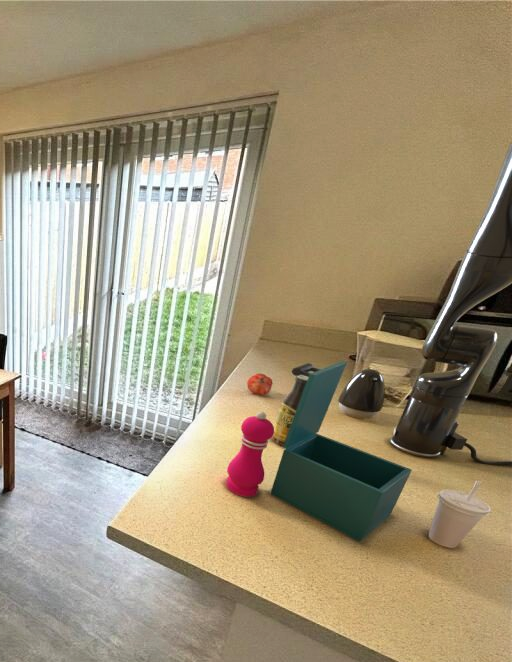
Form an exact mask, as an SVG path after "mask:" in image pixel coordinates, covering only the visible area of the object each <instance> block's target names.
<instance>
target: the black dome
mask: <svg viewBox="0 0 512 662" xmlns="http://www.w3.org/2000/svg"><path fill="white" fill-rule="evenodd" d="M385 386H386V385H385V380H384V377H383V375H382V373H381V372H380V371H379V370H377V369H372V368H366V369H365V368H364V369H362V370H360V371H359V372H357V373H356V374H355V375H354V376H353V377H351V379H350V380H349V381H348V382H347V383H346V385H345V386H344V388H343V390H342V391H341V393H340V394H339V396H338V399H337V401H338V407H339V409H340V411H341V412H342V414H344V415H346V416H349V417H351V418H353V419H362V420H363V419H364V420H366V419H370V418H373V417H375V416H376V415H377V414H378V413H380V412H381V411H382V410H383V407H384V403H385V395H386V393H385V392H386V391H385V389H386V388H385Z"/></svg>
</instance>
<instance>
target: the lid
mask: <svg viewBox="0 0 512 662" xmlns="http://www.w3.org/2000/svg"><path fill="white" fill-rule="evenodd" d="M347 363H348V362H347V361H344V360H342V361H339V362H337V363H334V364H332V365H328V366H326V367H323V368H321V369H320V368H317V367H314V365H313V364H312V363H309V362H307V363H304V364H302V365H299V366H296V367H293V368H292V370H291V374H292V375H293V376H299V375H304V376H307V377H309V378H308V380H307V383H306V386H305V388H304V391H303V394H302V396H301V399H300V402H299V404H298V407H297V410H296V413H295V415H294V418H293V421H292V423H291V426H290V429H289V431H288V434H287V437H286V439H285V442H284V445H283V446H282V448H283V449H284V450H285V449H287V448H289V447H291V446H293V445H295V444H297V443H299V442H300V441H302V440H304V439H306V438H308V437H310V436H312V435H314V434H316V433H317V434H318V433H319V431H320V429H321V427H322V425H323V422H324V419H325V417H326V414H327V412H328V409H329V407H330V405H331V402H332V400H333V398H334V395H335V392H336V391H337V387H338V386H339V383H340V380H341V379H342V376H343V373H344V371H345V368H346V366H347Z"/></svg>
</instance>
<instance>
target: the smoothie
mask: <svg viewBox="0 0 512 662" xmlns="http://www.w3.org/2000/svg"><path fill="white" fill-rule="evenodd" d="M481 483H482V481H481V480H475V483H474V484H473V487H472V488H471V490H470V492H469V493H466V492H463V491H459V490H456V489H455V490H454V489H443V490H440V491H439V493H438V494H437V496H436V497H437V500H438V501H437V504H436V507H435V511H434V515H433V518H432V521H431V524H430V529H429V532H428V538H429V539H430V541H432V542H434V543H435V544H437V545H440V546H442V547H445V548H449V549H454V548H456V547H457V546H458V545H459V544H460V543H461V542H462V541H463V540H464V538H465V537H466V536H467V535H468V534H469V533H470V532H471V530H473V528H474V527H476V525H477V524H478V523H479V522H480V521H481V520H482V518H484V517H487V516H488V515H489V514H490V512H491V507H490V505H488V503H486V502H485V501H483V500H482V499H480V498H478V497H476V496H475V494H476V493H477V490H479V487H480V486H481Z"/></svg>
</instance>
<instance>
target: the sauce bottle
mask: <svg viewBox="0 0 512 662" xmlns="http://www.w3.org/2000/svg"><path fill="white" fill-rule="evenodd" d="M308 378H309V377H307V376H304V375H299V376H296V377H295V378H294V384H293V387H292V389H291V390H290V391H289V393H288V394H287V395H286V397H284V399H283V401H282V402H281V405H280V407H279V410H278V413H277V415H276V419H275V423H274V424H273V426H274V434H273V436H272V437H271V438H270V439H271V441H272V442H273V443H275V444H277V445H279V446H281V447H283V445H284V442H285V439H286V437H287V434H288V431H289V429H290V426H291V423H292V421H293V418H294V415H295V413H296V410H297V407H298V404H299V402H300V399H301V396H302V394H303V391H304V388H305V386H306V383H307V380H308Z"/></svg>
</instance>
